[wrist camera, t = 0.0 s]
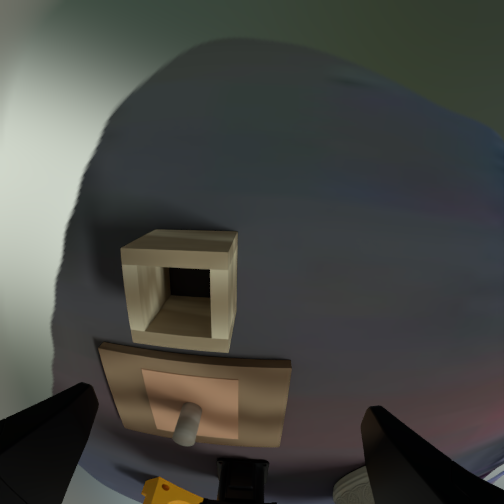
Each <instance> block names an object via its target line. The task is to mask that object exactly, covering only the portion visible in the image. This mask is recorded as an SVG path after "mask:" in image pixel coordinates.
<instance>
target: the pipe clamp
mask: <svg viewBox="0 0 504 504" xmlns="http://www.w3.org/2000/svg"><path fill="white" fill-rule="evenodd" d="M141 494H142V495H144V496H145V499H144V503H143V504H199V503H200V502H203V499H204V498H201V497H199V496H197V495H195V494H193V493H190V492H188V491H186V490H184V489H182V488H180V487H178V486H176V485H174V484H172V483H170V482H168V481H166V480H165V479H163V478H161V477H157V478H154V479H150V480H147V481H146V482H145V485H144V487H143V490H142V493H141Z"/></svg>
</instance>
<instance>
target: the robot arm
mask: <svg viewBox="0 0 504 504" xmlns="http://www.w3.org/2000/svg"><path fill="white" fill-rule="evenodd" d="M98 406H99V403H98V399H97V397H96V394H95V391H94V389H93V387H92V385H90V384H87V383H83V382H81V383H78V384H76V385H74V386H72V387H70V388H68V389H66V390H64V391H62V392H60V393H58V394H56V395H54V396H52V397H50V398H48V399H46V400H44V401H41V402H39V403H38V404H35V405H33V406H31V407H29V408H27V409H24V410H22V411H20V412H18V413H16V414H14V415H12V416H9V417H7V418H6V419H2V420H0V504H61V503H62V501H63V499H64V496H65V493H66V491H67V488H68V486H69V483H70V481H71V478H72V476H73V473H74V471H75V469H76V466H77V464H78V462H79V459H80V457H81V455H82V452H83V450H84V448H85V445H86V443H87V441H88V438H89V435H90V431H91V428H92V425H93V422H94V419H95V416H96V413H97V410H98ZM361 434H362V441H363V449H364V457H365V464H366V469H367V474H368V478H369V482H370V486H371V490H372V494H373V498H374V503H375V504H504V490H503V489H501V488H499V487H497V486H495V485H493V484H491V483H489V482H487V481H485V480H483V479H481V478H479V477H478V476H476V475H474V474H472V473H471V472H469V471H468V470H466V469H464V468H463V467H462V466H460V465H459V464H457V463H456V462H454V461H452V460H451V459H450V458H449V457H447V456H446V455H445V454H443V453H442V452H441V451H439V450H438V449H437V448H435V447H434V446H433V445H431V444H430V443H429V442H427V441H426V440H425V439H423V438H422V437H421V436H419V435H418V434H417V433H415V432H414V431H413V430H412V429H410V428H409V427H408V426H406V425H405V424H404V423H402V422H401V421H400V420H399V419H397V418H396V417H395V416H394V415H392V414H391V413H390V412H388V411H387V410H386V409H385V408H383V407H382V406H379V405H378V406H370V407H369V408H368V409H367V411H366V413H365V415H364V418H363V420H362V423H361ZM268 468H269V462H268V461H251V460H233V459H221V458H219V459H217V470H218V478H219V488H218V495H217V500H210V499H206V498H204V499H203V502H200V503H199V504H277V502H272V503H264V484H266V480H267V474H268Z"/></svg>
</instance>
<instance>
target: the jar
mask: <svg viewBox="0 0 504 504" xmlns="http://www.w3.org/2000/svg"><path fill="white" fill-rule="evenodd" d="M333 501H334V503H335V504H375V503H374V498H373V494H372V490H371V486H370V482H369V478H368V474H367V469H366V466H364V467H361V468H359V469H357V470H355V471H353V472H351V473H349V474H348V475H346V476H344V477H343V478H342V479H340V480H339V481H338V482H337V483H336V484H335V486H334V488H333Z"/></svg>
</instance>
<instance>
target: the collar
mask: <svg viewBox="0 0 504 504" xmlns="http://www.w3.org/2000/svg"><path fill="white" fill-rule="evenodd" d="M237 238H238V232H235V231H202V230H159V229H155V230H153V231H152V232H150V233H148V234H146V235H144V236H142V237H140V238H138V239H136V240H134V241H133V242H131V243H129V244H127V245H125V246H123V247H122V248H120V249H121V260H122V270H123V279H124V288H125V295H126V302H127V309H128V316H129V322H130V328H131V333H132V339H133V342H134V343H141V344H148V345H155V346H163V347H171V348H180V349H189V350H200V351H211V352H225V353H229V347H230V342H231V337H232V331H233V326H234V321H235V315H236V300H237ZM169 267H172V268H192V269H210V295H211V298H205V297H190V296H176V295H171V290H170V275H169Z"/></svg>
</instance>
